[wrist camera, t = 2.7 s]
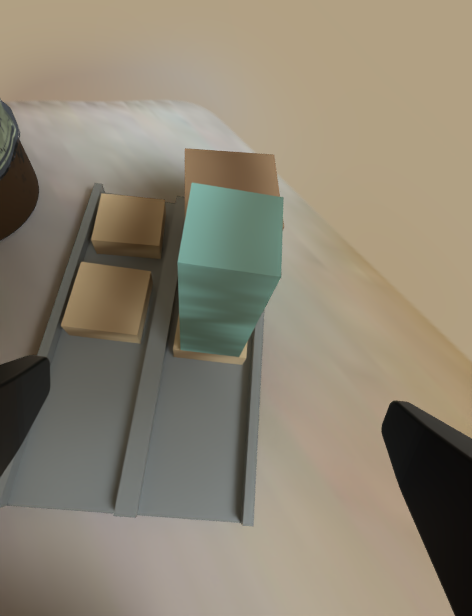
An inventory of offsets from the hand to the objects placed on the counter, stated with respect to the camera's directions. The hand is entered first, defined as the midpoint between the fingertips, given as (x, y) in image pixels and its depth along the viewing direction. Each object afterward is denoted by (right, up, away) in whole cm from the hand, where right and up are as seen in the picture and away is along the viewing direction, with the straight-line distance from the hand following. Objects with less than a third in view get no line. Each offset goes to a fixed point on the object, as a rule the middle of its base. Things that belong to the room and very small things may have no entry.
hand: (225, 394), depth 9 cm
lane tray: (-4, +1, +12) cm, 13 cm away
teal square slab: (-1, +4, +13) cm, 14 cm away
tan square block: (-7, +2, +12) cm, 14 cm away
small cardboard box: (-7, +7, +14) cm, 17 cm away
